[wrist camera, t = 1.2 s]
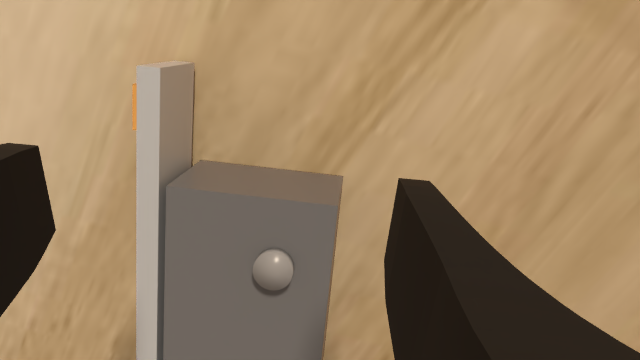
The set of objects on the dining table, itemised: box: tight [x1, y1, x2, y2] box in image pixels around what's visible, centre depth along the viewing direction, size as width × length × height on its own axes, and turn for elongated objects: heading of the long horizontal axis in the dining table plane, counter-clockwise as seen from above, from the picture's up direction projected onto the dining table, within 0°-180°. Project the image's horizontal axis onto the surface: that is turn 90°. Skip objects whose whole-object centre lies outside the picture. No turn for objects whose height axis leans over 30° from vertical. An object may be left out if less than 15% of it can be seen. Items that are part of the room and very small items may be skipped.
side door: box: [133, 61, 194, 360], centre depth 21 cm, size 14×1×4 cm, turn 175°
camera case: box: [163, 160, 343, 360], centre depth 21 cm, size 11×6×4 cm, turn 175°
